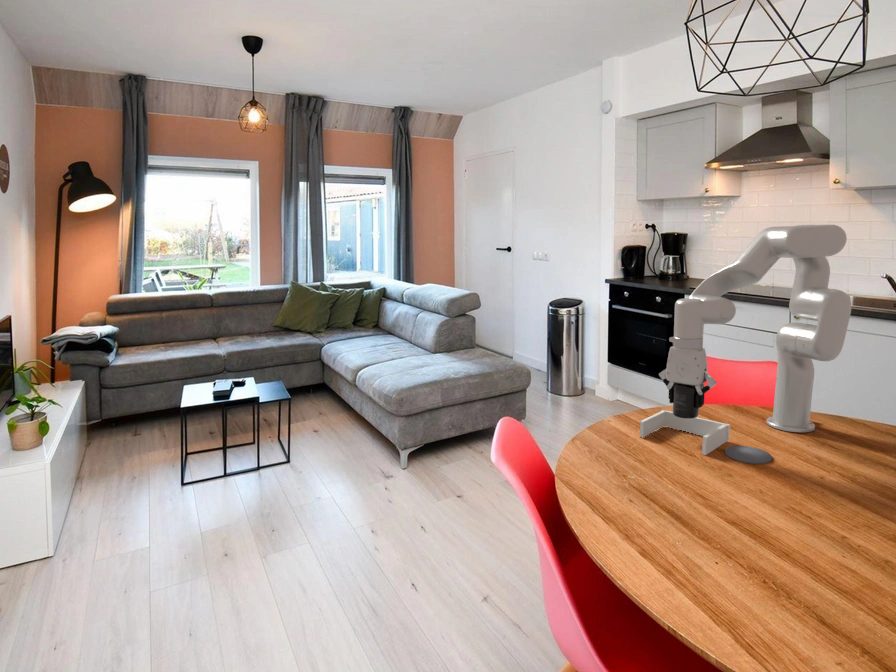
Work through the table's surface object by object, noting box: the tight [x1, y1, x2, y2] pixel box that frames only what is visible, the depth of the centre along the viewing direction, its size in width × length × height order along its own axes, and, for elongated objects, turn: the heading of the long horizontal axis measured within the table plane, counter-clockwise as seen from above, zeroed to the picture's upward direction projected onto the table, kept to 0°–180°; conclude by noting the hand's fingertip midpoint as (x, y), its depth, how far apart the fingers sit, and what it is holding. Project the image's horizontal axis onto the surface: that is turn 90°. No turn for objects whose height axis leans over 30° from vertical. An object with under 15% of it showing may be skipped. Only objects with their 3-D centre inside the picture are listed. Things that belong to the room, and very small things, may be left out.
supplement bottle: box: [672, 383, 700, 419], centre depth 160 cm, size 7×7×12 cm
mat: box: [724, 445, 773, 465], centre depth 150 cm, size 11×11×1 cm
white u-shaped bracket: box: [639, 409, 731, 456], centre depth 162 cm, size 14×20×5 cm
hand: (685, 404), depth 160 cm, fingers closed on supplement bottle, 6 cm apart
